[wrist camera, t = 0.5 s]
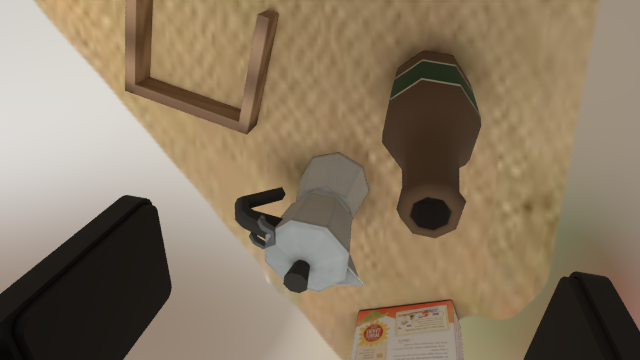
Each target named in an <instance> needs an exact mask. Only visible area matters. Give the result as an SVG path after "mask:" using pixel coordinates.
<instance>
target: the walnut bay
mask: <svg viewBox="0 0 640 360" xmlns="http://www.w3.org/2000/svg"><path fill="white" fill-rule="evenodd" d="M152 4H153V0H125V91H128V92H130V93H133V94H136V95H139V96H142V97H144V98H147V99H150V100H153V101H155V102H158V103H161V104H164V105H166V106H169V107H172V108H175V109H178V110H180V111H183V112H186V113H189V114H191V115H194V116H197V117H200V118H202V119H205V120H208V121H211V122H214V123H216V124H219V125H222V126H225V127H227V128H230V129H233V130H236V131H238V132H241V133H244V134H248V133H249V132H250V131H251V130H252V129H253V128H254V127H255V126H256V124H257V119H258V114H259V109H260V104H261V99H262V94H263V89H264V84H265V79H266V74H267V69H268V65H269V60H270V55H271V50H272V45H273V40H274V35H275V30H276V25H277V20H278V15H279V14H278V13H275V12H272V11H269V10H267V11H265V12H262V13H260V14H258V16H257V21H256V27H255V33H254V39H253V44H252V50H251V56H250V62H249V67H248V73H247V79H246V85H245V90H244V96H243V102H242V107H241V110H240V109H237V108H234V107H231V106H228V105H226V104H223V103H220V102H217V101H215V100H212V99H209V98H206V97H203V96H201V95H198V94H195V93H192V92H189V91H187V90H184V89H181V88H178V87H175V86H173V85H170V84H167V83H164V82H161V81H159V80H156V79H153V78H150V58H151V31H152Z"/></svg>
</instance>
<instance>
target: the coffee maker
mask: <svg viewBox="0 0 640 360" xmlns="http://www.w3.org/2000/svg"><path fill="white" fill-rule="evenodd" d="M368 191H369V187H368V183H367V180H366V176H365V173H364V169H363V166H361V165H360V164H358V163H356V162H354V161H353V160H351V159H349V158H348V157H346V156H344V155H342V154H341V153H339V152H338V153H332V154H327V155H322V156H316V157H313V158H312V160H311V161H310V163H309V165H308V166H307V168H306V170H305V171H304V173H303V175H302V177H301V181H300V185H299V190H298V194H297V198H296V202H295V203H293V204H291V205H290V207H289V208H288V209H287V210H286V211H285V213H284V214H283V215H282V216H281V217H280V218H279V217H276V216H272V215H269V214H265V213H261V212H258V211H254V210H253V209H251V208H253V207H257V206H261V205H265V204H268V203H272V202H276V201H279V200H282V199H283V198H284V196H285V192H284V190H283V188H282V187H281V188H277V189H272V190H268V191H264V192H260V193H255V194H251V195H247V196H243V197H240V198H238V199H237V201H236V203H235V220H236V221H237V222H238V223H239V224H240V225H241V226H242V227H243V228H245V229H247V230H249V231H251V234H250V235H249V237H250V239H251V241H252V243H253V244H255V245H256V246H258V247H260V248H262V249H265V262H266V263H267V264H268V265H269V266H270V267H271V268H272V269H273V270H274V271H275V272H276V273H277V274H278V275H279V276H280V277H281V278H282V280H283V281H284V285H285V286H286V287H287V288H288V289H289V290H290V291H293V292H297V293H301V292H303V291H305V290H307V289H309V290H314V291H318V292H320V291H322V290H324V289H326V288H329V287H331V286H333V285H350V286H363V285H364V283H363V282H362V281H361V280H360V279H359V277H358V274H357V272H356V269H355V266H354V263H353V261H352V258H351V255H350V239H351V223H352V219H353V218H354V216H355V214H356V212H357V211H358V209H359V207H360V205H361V204H362V202H363V200H364V198H365V197H366V195H367V193H368ZM257 235H258V236H260V237H262V238H264V239H266V241H264V240H262V239H261V238H259V237H257Z"/></svg>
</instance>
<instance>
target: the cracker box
mask: <svg viewBox="0 0 640 360" xmlns="http://www.w3.org/2000/svg"><path fill="white" fill-rule="evenodd" d="M350 360H464V355H463V343H462V335H461V327H460V324H459V321H458V318H457V315H456V312H455V309H454V306H453V303H452V301H451V300H448V301H441V302H433V303H425V304H416V305H408V306H400V307H392V308H384V309H375V310H367V311H359V313H358V318H357V324H356V329H355V335H354V341H353V347H352V352H351V358H350Z"/></svg>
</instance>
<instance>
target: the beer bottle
mask: <svg viewBox="0 0 640 360" xmlns="http://www.w3.org/2000/svg"><path fill="white" fill-rule="evenodd" d="M480 128H481V118H480V114H479V111H478V107H477V104H476V101H475V98H474V94H473V91H472V88H471V85H470V83H469V81H468V79H467V77H466V76H465V74H464V73H463V71H462V69H461V68H460V66H459V65H458V63H457V62H456V60H455V58H454V57H453V56H452V55H446V54H440V53H433V52H427V51H422V52H421V53H419V54H418V55H417V56H415V57H414V58H412V59H411V60H409V61H408V62H406V63H405V64H403V65H402V66H400V67H399V68H398V70H397V72H396V76H395V80H394V84H393V88H392V92H391V96H390V100H389V105H388V110H387V115H386V120H385V125H384V129H383V135H382V143H383V144H384V146H385V147H386V148H387V150H388V151H389V153H390V154H391V155H392V157H393V158H394V159H395V161H396V162H397V163H398V165H399V166H400V167H401V169H402V190H401V194H400V198H399V202H398V205H397V211H398V214H399V216H400V218H401V219H402V220H403V222H404V223H405V224H406V226H407V227H408V228H409V229H410V231H411V232H412V233H414V234H418V235H423V236H427V237H432V238H437V237H439V236H442V235H444V234H446V233H448V232H451V231H453V230H455V229H456V228H457V225H458V223H459V220H460V217H461V214H462V211H463V209H464V206H465V203H466V201H465V199H464V198H463V196H462V195H461V193H460V192H459V168H460V167H462V166H464V165H466V164H467V162H468V161H469V160H470V157H471V154H472V151H473V148H474V145H475V142H476V139H477V137H478V134H479V131H480Z"/></svg>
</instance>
